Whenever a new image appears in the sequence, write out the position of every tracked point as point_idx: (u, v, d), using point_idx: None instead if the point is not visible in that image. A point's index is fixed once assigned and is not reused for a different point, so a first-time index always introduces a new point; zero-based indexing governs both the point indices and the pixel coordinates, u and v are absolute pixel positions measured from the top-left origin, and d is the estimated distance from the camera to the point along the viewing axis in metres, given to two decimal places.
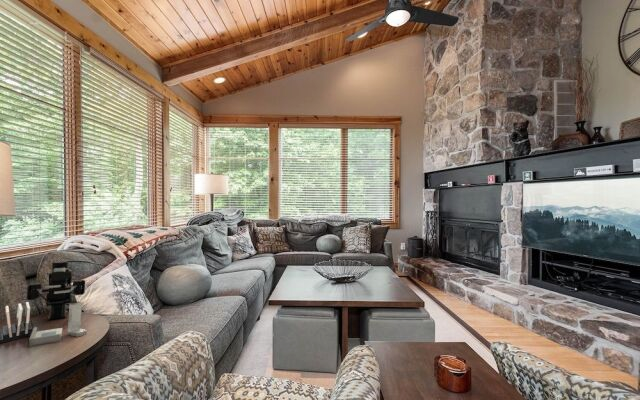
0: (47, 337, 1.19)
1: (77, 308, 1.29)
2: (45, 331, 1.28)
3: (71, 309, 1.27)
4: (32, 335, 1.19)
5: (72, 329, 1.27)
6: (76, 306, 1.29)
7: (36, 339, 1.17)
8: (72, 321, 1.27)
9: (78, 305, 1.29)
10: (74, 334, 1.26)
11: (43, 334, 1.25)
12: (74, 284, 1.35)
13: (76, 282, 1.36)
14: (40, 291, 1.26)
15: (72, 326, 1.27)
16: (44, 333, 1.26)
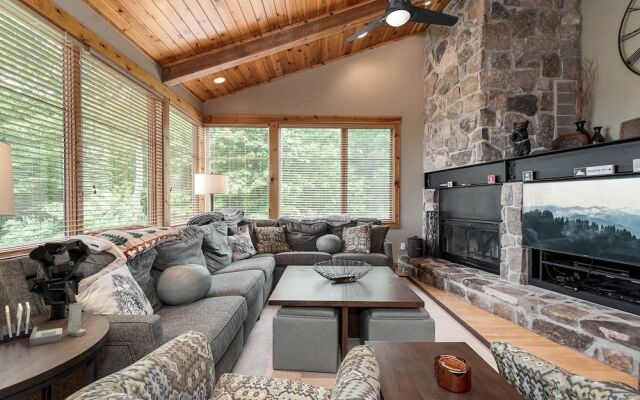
0: (47, 337, 1.19)
1: (77, 308, 1.29)
2: (45, 331, 1.28)
3: (71, 309, 1.27)
4: (32, 335, 1.19)
5: (72, 329, 1.27)
6: (76, 306, 1.29)
7: (36, 339, 1.17)
8: (72, 321, 1.27)
9: (78, 305, 1.29)
10: (74, 334, 1.26)
11: (43, 334, 1.25)
12: (76, 280, 1.38)
13: (78, 278, 1.39)
14: (49, 293, 1.28)
15: (72, 326, 1.27)
16: (44, 333, 1.26)
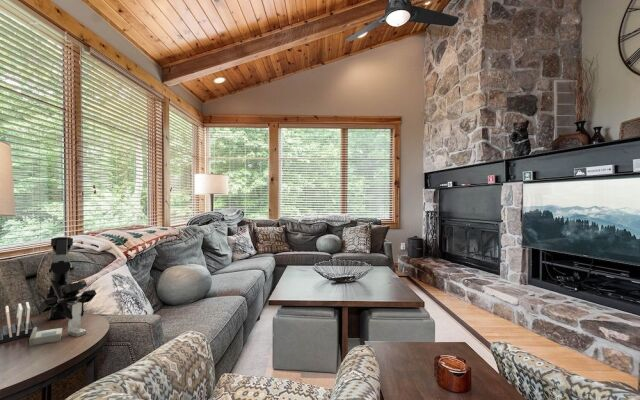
0: (47, 337, 1.19)
1: (77, 308, 1.29)
2: (45, 331, 1.28)
3: (71, 309, 1.27)
4: (32, 335, 1.19)
5: (72, 329, 1.27)
6: (76, 306, 1.29)
7: (36, 339, 1.17)
8: (72, 321, 1.27)
9: (78, 305, 1.29)
10: (74, 334, 1.26)
11: (43, 334, 1.25)
12: (81, 301, 1.32)
13: (83, 298, 1.33)
14: (69, 312, 1.27)
15: (72, 326, 1.27)
16: (44, 333, 1.26)
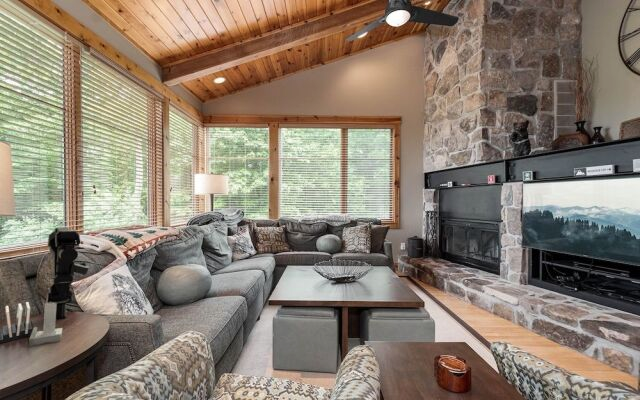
0: (47, 337, 1.19)
1: (51, 308, 1.26)
2: None
3: None
4: (32, 335, 1.19)
5: (45, 329, 1.24)
6: (50, 306, 1.25)
7: (36, 339, 1.17)
8: (44, 321, 1.24)
9: (52, 305, 1.26)
10: (42, 335, 1.22)
11: None
12: None
13: None
14: (66, 291, 1.33)
15: (44, 326, 1.24)
16: None
